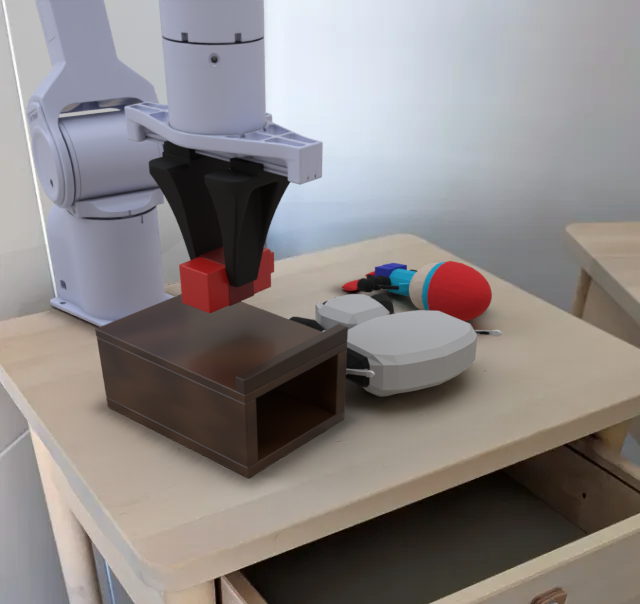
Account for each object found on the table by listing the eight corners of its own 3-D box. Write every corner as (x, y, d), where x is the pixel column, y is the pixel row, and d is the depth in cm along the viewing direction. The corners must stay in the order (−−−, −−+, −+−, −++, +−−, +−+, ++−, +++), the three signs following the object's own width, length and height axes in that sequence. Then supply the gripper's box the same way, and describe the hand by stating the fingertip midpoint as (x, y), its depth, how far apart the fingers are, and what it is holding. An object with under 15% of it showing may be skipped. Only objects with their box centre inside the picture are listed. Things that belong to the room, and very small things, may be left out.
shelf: (107, 406, 62) (92, 314, 57) (206, 359, 68) (199, 272, 63) (248, 478, 55) (244, 380, 50) (344, 419, 61) (348, 326, 56)
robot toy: (262, 360, 69) (376, 428, 59) (258, 305, 67) (377, 367, 57) (380, 326, 75) (502, 382, 65) (381, 274, 72) (509, 324, 62)
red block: (181, 303, 56) (177, 263, 55) (253, 274, 60) (251, 235, 59) (210, 315, 55) (207, 273, 53) (281, 283, 59) (281, 244, 57)
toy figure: (335, 308, 79) (456, 337, 69) (334, 252, 77) (459, 274, 67) (393, 295, 83) (516, 321, 73) (394, 242, 81) (521, 260, 71)
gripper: (359, 43, 47) (349, 286, 55) (175, 15, 54) (192, 235, 62) (274, 60, 42) (278, 320, 51) (86, 27, 49) (118, 261, 58)
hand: (226, 275), depth 56 cm, fingers closed on red block, 3 cm apart
